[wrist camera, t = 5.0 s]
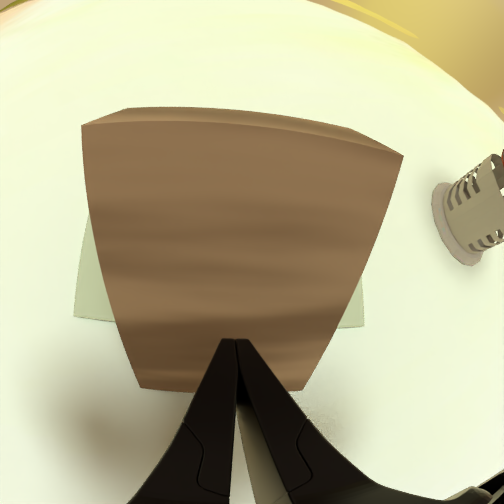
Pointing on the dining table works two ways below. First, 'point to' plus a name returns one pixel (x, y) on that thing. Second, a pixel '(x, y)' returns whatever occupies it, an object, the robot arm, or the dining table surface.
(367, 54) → the dining table surface
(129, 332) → the slab
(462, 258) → the french press
